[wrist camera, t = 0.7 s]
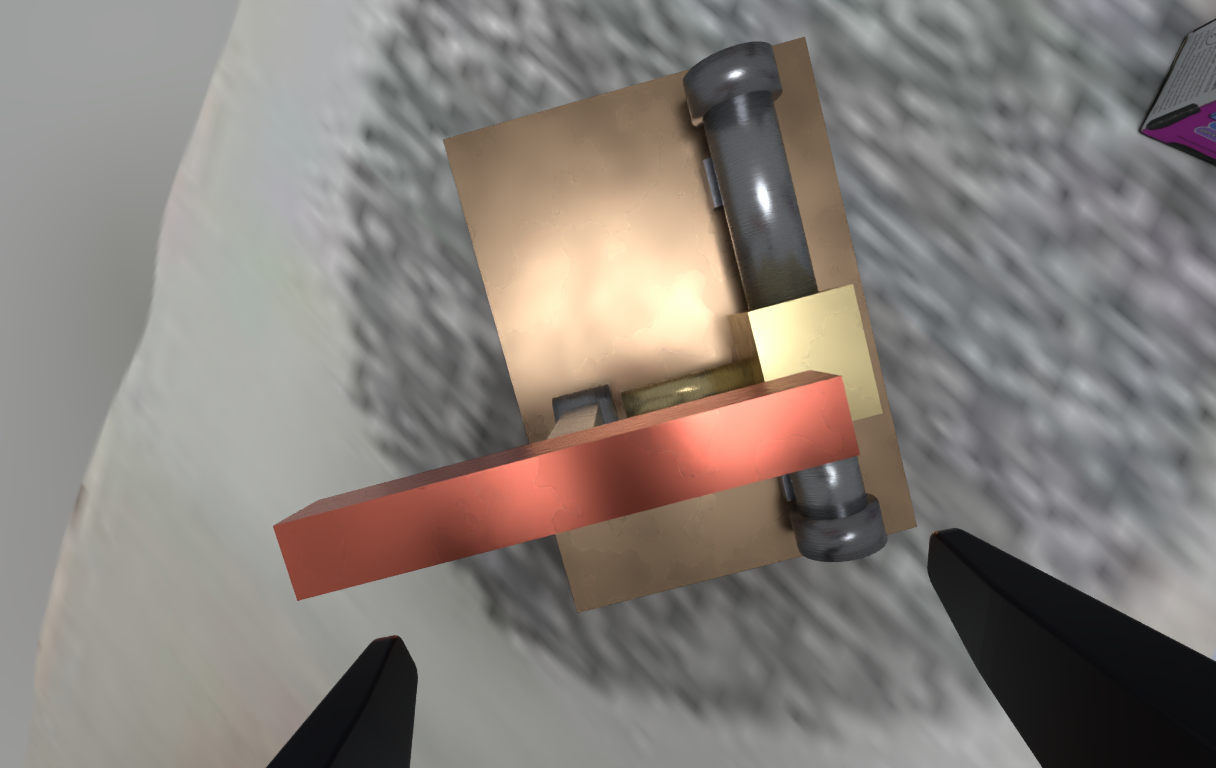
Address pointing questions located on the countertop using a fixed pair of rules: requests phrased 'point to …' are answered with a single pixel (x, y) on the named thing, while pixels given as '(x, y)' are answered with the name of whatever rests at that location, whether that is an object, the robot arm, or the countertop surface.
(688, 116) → the valve on board
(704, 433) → the valve lever
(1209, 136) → the candy bar box
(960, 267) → the countertop surface
